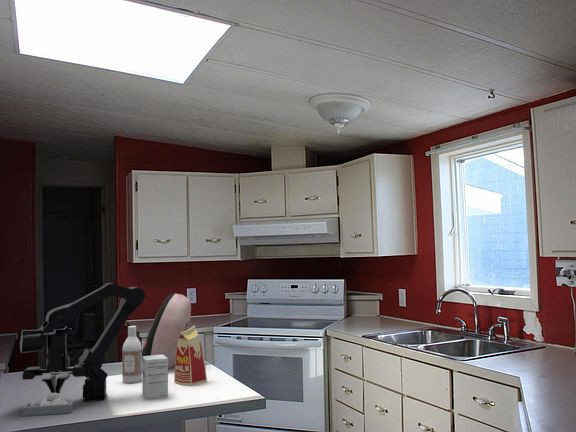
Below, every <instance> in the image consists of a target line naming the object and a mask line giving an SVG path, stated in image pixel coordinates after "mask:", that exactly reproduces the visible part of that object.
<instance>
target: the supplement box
mask: <svg viewBox="0 0 576 432" xmlns="http://www.w3.org/2000/svg"><path fill="white" fill-rule="evenodd" d="M141 382H142V383H141V384H142V387H141V388H142V389H141V390H142V395H143V396H144V398H145V400H153V399H162V398H168V397H169V369H168V358H167V357H166V356H164V355H152V356H143V357H142V380H141Z"/></svg>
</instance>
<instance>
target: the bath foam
mask: <svg viewBox="0 0 576 432" xmlns="http://www.w3.org/2000/svg"><path fill="white" fill-rule="evenodd" d="M142 351H143V347H142V342H141V341H140V339H139V338H138V337H137V325H130V326H127V338H126V339H125V341H124V342H123V345H122V350H121V353H122V355H121V357H122V359H121V360H122V361H121V362H122V366H121V367H122V368H121V369H122V371H121V373H122V383H124V384H136V383H140V382H142Z"/></svg>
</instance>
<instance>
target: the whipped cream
mask: <svg viewBox="0 0 576 432" xmlns="http://www.w3.org/2000/svg"><path fill="white" fill-rule="evenodd" d="M64 404H69V403H68V402H67V401H66V400H64V398H62V394H61V393H60V394H59V393H51V392H50V393H48V394H46V395H45V396H44V398H43V399H42V400H41V401H40V402H39V406H48V405H64Z"/></svg>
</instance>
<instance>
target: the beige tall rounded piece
mask: <svg viewBox="0 0 576 432" xmlns="http://www.w3.org/2000/svg"><path fill="white" fill-rule="evenodd" d="M191 312H192V303H191V300H190V299H189V298H188V297H187V296H186V295H184V294H182V293H181V294H179V293H170V294H169V295H168V296H166V298H165V299H164V301H163V302H162V304H161V306H160V307H159V309H158V311H157V313H156V315H155V317H154V319H153V321H152V324H151V325H150V329H149V330H148V333H147V336H146V338H145V341H144V344H143V347H142V357H143V356H152V355H164V356H166V357H167V358H168V370H170V369H171V368H172V367H174V366H175V360H176V351H177V344H178V338H179V337H180V336H181V332H184V331H186V330H188V329H190V325H191V314H192V313H191Z"/></svg>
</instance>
